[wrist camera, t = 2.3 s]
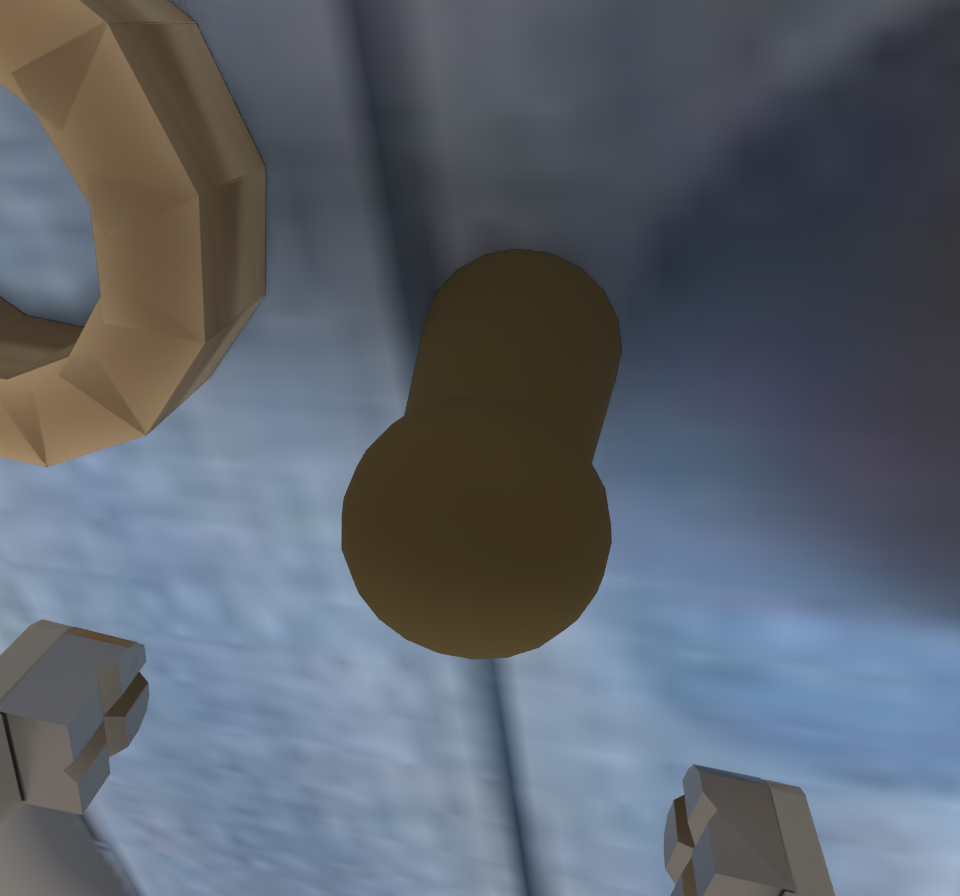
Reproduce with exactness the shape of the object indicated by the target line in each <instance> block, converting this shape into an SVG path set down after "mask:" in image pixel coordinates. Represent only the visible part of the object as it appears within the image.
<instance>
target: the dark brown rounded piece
mask: <svg viewBox="0 0 960 896" xmlns="http://www.w3.org/2000/svg"><path fill="white" fill-rule="evenodd" d="M621 352H622V345H621V337H620V329H619V322H618V318H617V316H616V314H615V312H614V310H613V308H612V306H611V304H610V302H609V300H608V298H607V296H606V294H605V292H604V291H603V290H602V289H601V288H600V287H599V286H598V285H597V284H596V283H595V282H594V281H593V280H592V279H591V278H590V277H589V276H588V275H587V274H586V273H585V272H584V271H583V270H582V269H581V268H579V267H577V266H575V265H573V264H571V263H569V262H567V261H565V260H563V259H561V258H558V257H556V256H554V255H552V254H549V253H542V252H535V251H528V250H521V249H515V250H509V251H504V252H498V253H493V254H487V255H484V256H482V257H480V258H478V259H477V260H475V261H473V262H471V263H469V264H467V265H466V266H464V267H462V268H460V269H458V270H457V271H456V272H455V273H454V274H453V275H452V276H451V277H450V279H449V280H448V281H447V282H446V283H445V284H444V285H443V286H442V287H441V288H440V290H439V291H438V292H437V293H436V295H435V298H434V300H433V302H432V305H431V307H430V309H429V312H428V314H427V317H426V319H425V322H424V327H423V332H422V336H421V341H420V346H419V350H418V355H417V360H416V364H415V369H414V374H413V378H412V383H411V387H410V392H409V397H408V401H407V406H406V411H405V415H404V416H403V417H402V418H400V419H399V420H397V421H396V422H395V423H393V424H392V425H391V426H390V427H389V428H388V429H387V430H386V431H385V432H384V433H383V434H382V435H381V436H380V437H379V438H378V439H377V440H376V441H375V442H374V443H373V444H372V445H371V446H370V447H369V448H368V449H367V450H366V452H365V453H364V455H363V457H362V458H361V460H360V462H359V464H358V465H357V467H356V470H355V472H354V475H353V477H352V479H351V482H350V484H349V487H348V489H347V491H346V494H345V496H344V501H343V509H342V551H343V554H344V557H345V559H346V562H347V565H348V567H349V570H350V573H351V575H352V578H353V581H354V583H355V585H356V588H357V590H358V592H359V594H360V596H361V597H362V598H363V599H364V601H365V602H366V603H367V605H368V606H369V607H370V608H371V610H372V611H373V612H374V613H375V615H376V616H377V617H378V618H379V620H381V621H382V622H384V623H385V624H386V625H388V626H389V627H390V628H392V629H393V630H394V631H396V632H397V633H398V634H400V635H401V636H402V637H404V638H405V639H407V640H409V641H411V642H414V643H416V644H418V645H421V646H423V647H425V648H428V649H430V650H432V651H435V652H437V653H441V654H446V655H452V656H457V657H463V658H468V659H489V658H507V657H511V656H514V655H517V654H520V653H523V652H526V651H530V650H533V649H536V648H539V647H540V646H542V645H543V644H545V643H546V642H548V641H549V640H551V639H552V638H554V637H555V636H556V635H558V634H559V633H561V632H562V631H564V630H565V629H566V628H568V627H569V626H570V625H571V624H573V623H574V622H575V621H576V620H578V618H579V617H580V615H581V614H582V613H583V611H584V610H585V609H586V607H587V606H588V604H589V603H590V602H591V600H592V599H593V597H594V596H595V595H596V593H597V591H598V589H599V586H600V584H601V581H602V579H603V576H604V572H605V568H606V564H607V560H608V555H609V551H610V547H611V543H612V540H611V522H610V516H609V510H608V503H607V497H606V491H605V487H604V486H603V484H602V482H601V480H600V478H599V476H598V474H597V472H596V470H595V469H594V467H593V465H592V461H593V457H594V454H595V450H596V447H597V443H598V440H599V436H600V433H601V429H602V425H603V422H604V418H605V415H606V411H607V408H608V404H609V401H610V397H611V394H612V390H613V387H614V383H615V380H616V375H617V371H618V366H619V361H620V357H621Z"/></svg>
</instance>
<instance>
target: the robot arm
mask: <svg viewBox="0 0 960 896" xmlns="http://www.w3.org/2000/svg"><path fill="white" fill-rule="evenodd" d="M145 663H146V655H145V648H144V645H143V644H140V643H137V642H133V641H129V640H125V639H121V638H117V637H113V636H109V635H105V634H101V633H97V632H93V631H89V630H85V629H81V628H77V627H72V626H68V625H64V624H59V623H55V622H51V621H47V620H43V619H42V620H40V621H38V622H36V623H34V624H32V625H30V626H29V627H28V628H27V629H26V630H25V631H24V632H23V633H22V634H21V635H20V636H19V637H18V638H17V639H16V640H15V641H14V642H13V643H12V644H11V645H10V646H9V647H8V648H7V649H6V650H5V651H4V652H3V653H2V654H1V655H0V822H1V821H2V820H3V819H5V818H7V817H8V816H9V815H11V814H12V813H14V812H15V811H17V810H18V809H20V808H21V807H22V805H23V804H22V803H26V804H31V805H36V806H41V807H46V808H52V809H57V810H61V811H66V812H71V813H76V814H81V815H83V813H84V812H85V810H86V809H87V807H88V806H89V804H90V803H91V801H92V800H93V798H94V797H95V795H96V794H97V792H98V791H99V789H100V788H101V786H102V785H103V783H104V782H105V780H106V779H107V777H108V776H109V774H110V766H109V757H111V756H113V755H114V754H116V753H118V752H120V751H121V750H123V749H125V748H127V747H128V746H129V744H130V743H131V741H132V740H133V738H134V737H135V735H136V733H137V732H138V730H139V728H140V725H141V723H142V720H143V718H144V715H145V713H146V710H147V705H148V699H149V686H148V682H147V681H146V680H145V678H144V677H143V676H142V675H141V673H140V672H139V671H140V670H141V668H142V667H143V665H144V664H145ZM683 787H684V795H683V796H681V797H679V798H677V799H675V800H673V803H672V805H671V808H670V810H669V813H668V815H667V821H666V826H665V832H664V861H665V869H666V871H667V872H668V874H669V875H670V877H671V878H672V880H673V881H674V883H675V884H676V886H675V888H674V890H673V892H672V894H671V896H835V893H834V890H833V886H832V883H831V879H830V876H829V873H828V869H827V866H826V863H825V859H824V856H823V853H822V849H821V846H820V843H819V839H818V836H817V833H816V829H815V826H814V822H813V819H812V816H811V812H810V809H809V806H808V802H807V799H806V796H805V794H804V792H803V791H802V790H801V788H800V787H796V786H791V785H787V784H782V783H778V782H773V781H769V780H762V779H760V778H757V777H753V776H748V775H743V774H738V773H733V772H728V771H724V770H719V769H714V768H709V767H704V766H700V765H695V764H694V765H692V766H691V767H690V768H689V769H688V770H687V772H686V775H685V777H684V779H683Z"/></svg>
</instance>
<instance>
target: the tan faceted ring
mask: <svg viewBox="0 0 960 896" xmlns="http://www.w3.org/2000/svg"><path fill="white" fill-rule="evenodd" d="M0 84H1V85H3V86H4V87H5V88H7V89H8V90H9V91H10V92H12V93H13V94H14V95H16V96H17V97H18V98H20V99H21V100H22V101H23V102H25V103H26V104H27V105H29V106H30V107H31V108H32V109H33V111H34V112H35V114H36V116H37V117H38V119H39V121H40V122H41V124H42V126H43V127H44V129H45V131H46V132H47V134H48V136H49V137H50V139H51V141H52V142H53V144H54V146H55V148H56V149H57V151H58V153H59V154H60V156H61V158H62V159H63V161H64V163H65V164H66V166H67V168H68V169H69V171H70V173H71V174H72V176H73V178H74V179H75V181H76V183H77V184H78V186H79V188H80V189H81V191H82V193H83V194H84V196H85V198H86V199H87V201H88V203H89V204H90V209H91V217H92V226H93V234H94V243H95V251H96V259H97V268H98V276H99V285H100V293H101V296H100V298H99V300H98V302H97V304H96V306H95V307H94V309H93V311H92V313H91V315H90V317H89V319H88V321H87V323H86V325H85V327H80V326H75V325H70V324H65V323H60V322H55V321H50V320H45V319H41V318H36V317H31V316H26V315H24V314H23V313H22V312H20V311H19V310H17V309H16V308H14V307H13V306H12V305H10V304H9V303H7V302H6V301H5V300H3V299H2V298H0V457H3V458H8V459H13V460H17V461H22V462H27V463H31V464H36V465H41V466H45V467H48V466H51V465H54V464H57V463H61V462H64V461H67V460H70V459H73V458H76V457H79V456H82V455H86V454H89V453H92V452H95V451H98V450H101V449H104V448H107V447H111V446H114V445H117V444H120V443H123V442H126V441H129V440H132V439H135V438H139V437H142V436H146V435H147V434H148V433H149V432H151V431H152V430H153V429H154V428H155V427H156V426H157V425H158V424H159V423H160V422H162V421H163V420H164V419H165V418H166V417H167V416H168V415H169V414H170V413H172V412H173V411H174V410H175V409H176V408H177V407H178V406H179V405H180V404H182V403H183V402H184V401H185V400H186V399H187V398H188V397H189V396H190V395H192V394H193V393H194V392H195V391H196V390H197V389H198V388H199V387H200V386H201V385H203V384H204V383H205V382H206V381H207V380H208V379H209V378H210V377H211V375H212V374H213V372H214V371H215V369H216V368H217V366H218V365H219V363H220V362H221V360H222V359H223V357H224V356H225V354H226V353H227V351H228V350H229V348H230V347H231V345H232V344H233V342H234V341H235V339H236V338H237V336H238V335H239V333H240V332H241V330H242V329H243V327H244V326H245V324H246V323H247V321H248V320H249V318H250V317H251V315H252V314H253V312H254V311H255V309H256V308H257V306H258V305H259V303H260V302H261V300H262V299H263V297H264V296H265V222H266V166H265V165H264V163H263V161H262V159H261V156H260V154H259V152H258V150H257V148H256V146H255V144H254V142H253V140H252V138H251V136H250V134H249V132H248V130H247V128H246V125H245V123H244V121H243V119H242V117H241V115H240V113H239V111H238V109H237V107H236V105H235V103H234V101H233V99H232V97H231V94H230V92H229V90H228V88H227V86H226V84H225V82H224V80H223V78H222V76H221V74H220V72H219V70H218V68H217V65H216V63H215V61H214V59H213V57H212V55H211V53H210V51H209V49H208V47H207V45H206V43H205V41H204V39H203V37H202V34H201V32H200V30H199V28H198V26H197V23H196V22H194V21H193V20H192V19H191V18H189V17H188V16H187V15H186V14H185V13H184V12H182V11H181V10H180V9H179V8H178V7H176V6H175V5H174V4H173V3H172V2H171V1H169V0H0Z"/></svg>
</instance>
